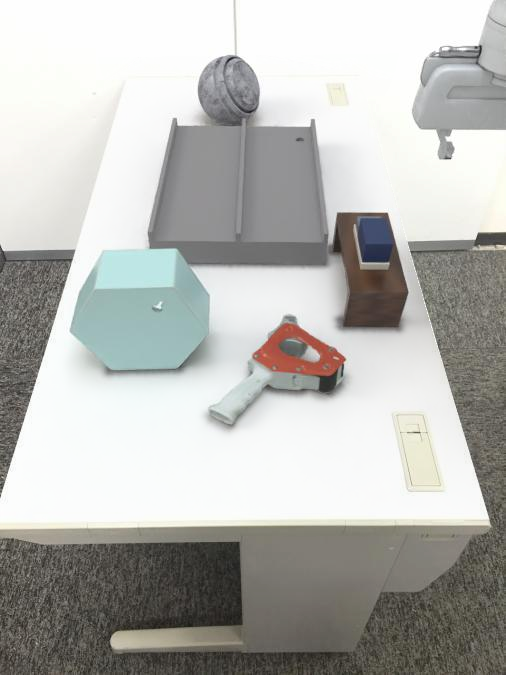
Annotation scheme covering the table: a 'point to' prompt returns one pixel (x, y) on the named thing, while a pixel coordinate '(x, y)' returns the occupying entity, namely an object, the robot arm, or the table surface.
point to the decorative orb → (228, 90)
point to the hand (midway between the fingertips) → (479, 157)
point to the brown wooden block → (369, 279)
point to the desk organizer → (241, 195)
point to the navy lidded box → (373, 242)
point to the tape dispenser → (283, 369)
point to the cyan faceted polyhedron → (141, 309)
